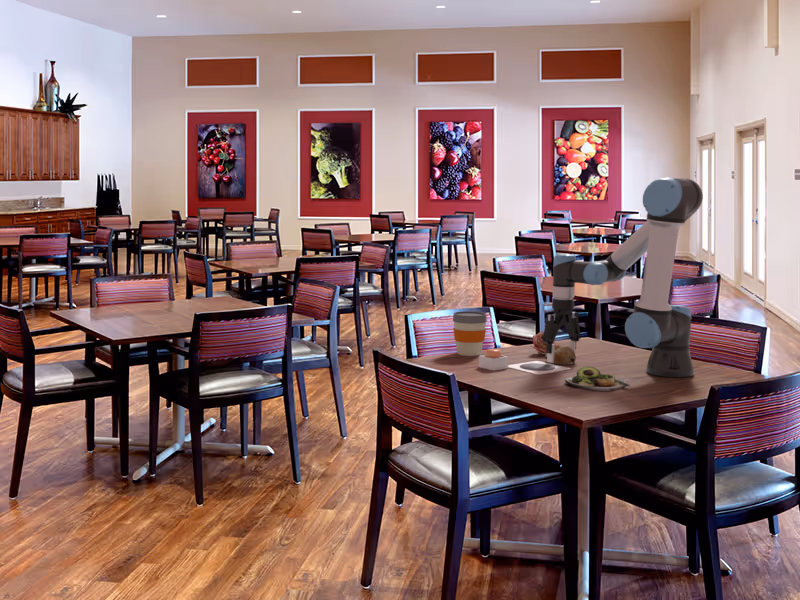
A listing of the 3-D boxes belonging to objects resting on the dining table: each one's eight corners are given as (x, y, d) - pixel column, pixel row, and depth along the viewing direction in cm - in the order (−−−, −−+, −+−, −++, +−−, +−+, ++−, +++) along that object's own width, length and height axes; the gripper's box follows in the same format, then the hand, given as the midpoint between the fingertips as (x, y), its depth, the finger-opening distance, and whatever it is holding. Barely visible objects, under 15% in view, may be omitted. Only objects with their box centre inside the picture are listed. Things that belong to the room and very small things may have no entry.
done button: (494, 357, 298) (494, 348, 297) (504, 359, 294) (504, 350, 293) (483, 358, 295) (483, 350, 294) (493, 361, 291) (493, 352, 290)
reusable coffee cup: (445, 353, 318) (446, 313, 316) (464, 349, 328) (464, 310, 326) (474, 358, 311) (475, 317, 309) (492, 353, 321) (493, 313, 319)
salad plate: (642, 387, 269) (643, 372, 269) (613, 396, 257) (613, 381, 256) (588, 377, 283) (589, 363, 282) (558, 385, 270) (558, 371, 269)
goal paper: (536, 361, 306) (536, 360, 306) (570, 369, 293) (571, 368, 293) (504, 366, 296) (504, 365, 296) (537, 375, 283) (537, 373, 283)
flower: (524, 347, 323) (529, 332, 318) (543, 340, 327) (548, 326, 321) (539, 365, 317) (544, 350, 312) (558, 358, 321) (564, 343, 316)
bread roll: (562, 375, 299) (572, 356, 296) (538, 360, 304) (548, 341, 301) (573, 371, 307) (583, 352, 304) (550, 355, 312) (559, 337, 309)
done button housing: (494, 364, 299) (494, 353, 299) (508, 368, 294) (508, 356, 293) (479, 367, 295) (479, 355, 295) (492, 370, 290) (493, 358, 289)
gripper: (577, 294, 311) (574, 355, 314) (532, 299, 298) (530, 362, 301) (593, 297, 305) (590, 358, 308) (548, 301, 292) (546, 366, 295)
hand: (561, 360), depth 304 cm, fingers closed on bread roll, 10 cm apart
